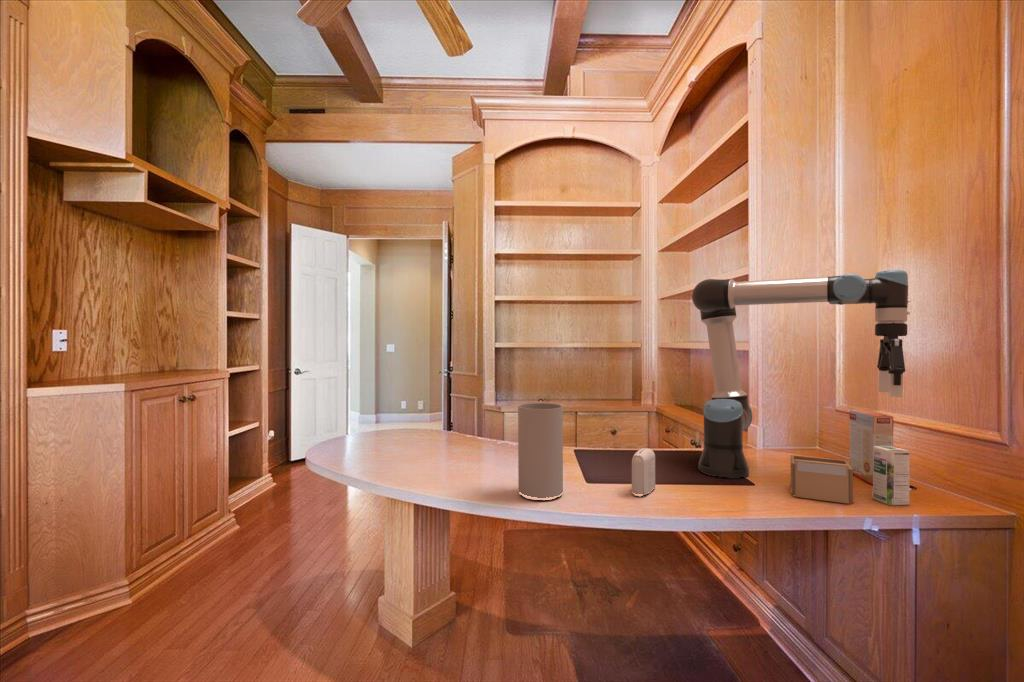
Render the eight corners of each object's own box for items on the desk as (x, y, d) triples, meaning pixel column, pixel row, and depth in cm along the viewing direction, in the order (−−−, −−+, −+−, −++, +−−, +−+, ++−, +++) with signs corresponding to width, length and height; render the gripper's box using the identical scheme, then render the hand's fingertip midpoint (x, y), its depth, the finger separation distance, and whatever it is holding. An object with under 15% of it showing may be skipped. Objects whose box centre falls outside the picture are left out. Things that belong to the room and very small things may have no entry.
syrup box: (871, 498, 129) (871, 445, 129) (891, 498, 130) (891, 445, 130) (890, 506, 124) (889, 450, 124) (910, 505, 124) (910, 449, 124)
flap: (795, 496, 130) (795, 460, 130) (795, 495, 132) (795, 459, 132) (848, 503, 125) (848, 465, 125) (847, 502, 126) (847, 464, 126)
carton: (791, 495, 132) (791, 463, 132) (790, 485, 142) (790, 455, 142) (853, 503, 126) (853, 469, 126) (847, 492, 135) (847, 460, 135)
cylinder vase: (556, 504, 126) (556, 410, 126) (512, 499, 130) (511, 407, 130) (567, 490, 137) (567, 404, 137) (526, 486, 142) (526, 402, 142)
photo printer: (642, 486, 141) (642, 444, 141) (657, 489, 139) (657, 446, 139) (629, 495, 133) (629, 451, 133) (644, 498, 130) (644, 453, 130)
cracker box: (895, 486, 140) (894, 415, 140) (872, 485, 141) (871, 415, 141) (869, 473, 154) (869, 409, 154) (848, 472, 155) (848, 408, 155)
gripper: (920, 321, 128) (919, 399, 128) (895, 324, 150) (894, 391, 150) (885, 321, 131) (884, 398, 132) (866, 324, 154) (865, 389, 154)
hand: (889, 394), depth 141 cm, fingers open, 13 cm apart
